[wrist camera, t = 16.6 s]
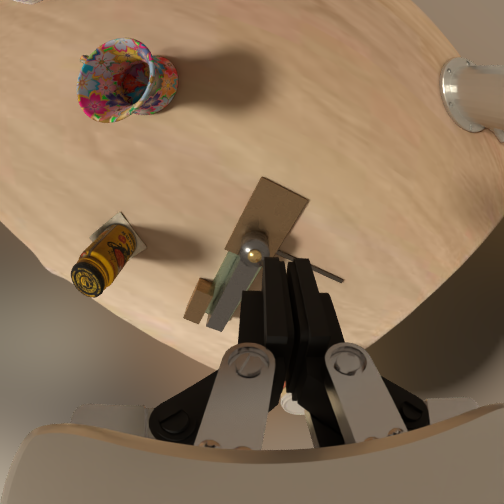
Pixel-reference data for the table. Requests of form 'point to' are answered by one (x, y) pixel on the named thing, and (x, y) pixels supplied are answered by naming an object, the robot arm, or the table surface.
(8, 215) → the table surface
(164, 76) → the mug
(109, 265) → the condiment
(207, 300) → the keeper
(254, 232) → the swing bar
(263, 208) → the plate
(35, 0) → the paper bowls
